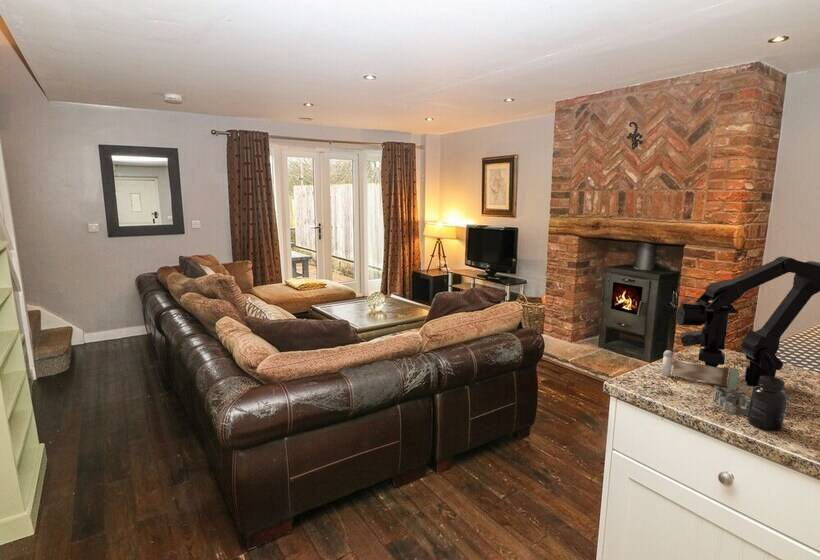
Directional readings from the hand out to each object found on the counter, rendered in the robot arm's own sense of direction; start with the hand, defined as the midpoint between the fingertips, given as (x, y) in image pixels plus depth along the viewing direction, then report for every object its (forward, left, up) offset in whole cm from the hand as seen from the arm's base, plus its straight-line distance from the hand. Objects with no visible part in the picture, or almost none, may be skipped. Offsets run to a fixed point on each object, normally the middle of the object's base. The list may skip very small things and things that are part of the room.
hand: (708, 375), depth 139 cm
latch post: (-6, +2, -2) cm, 7 cm away
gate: (+2, +3, -1) cm, 4 cm away
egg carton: (-6, +17, -2) cm, 18 cm away
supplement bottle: (-12, +25, -2) cm, 28 cm away
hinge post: (+11, +2, -2) cm, 11 cm away
